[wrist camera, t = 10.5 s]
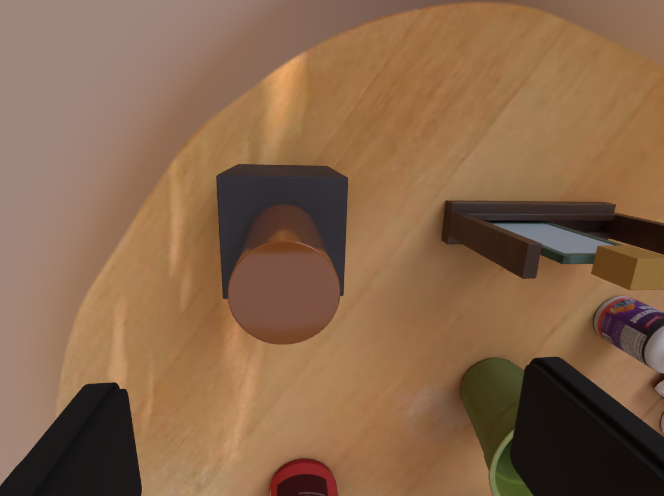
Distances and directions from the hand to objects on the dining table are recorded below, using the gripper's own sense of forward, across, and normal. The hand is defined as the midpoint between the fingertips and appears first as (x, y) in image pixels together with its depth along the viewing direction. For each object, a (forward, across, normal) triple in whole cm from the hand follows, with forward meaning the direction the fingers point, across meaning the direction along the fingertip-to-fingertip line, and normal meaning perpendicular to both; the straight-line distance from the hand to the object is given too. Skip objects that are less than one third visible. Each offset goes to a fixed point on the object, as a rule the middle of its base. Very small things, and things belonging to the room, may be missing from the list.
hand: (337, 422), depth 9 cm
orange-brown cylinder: (+16, +1, 0) cm, 16 cm away
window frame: (+27, -23, +1) cm, 36 cm away
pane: (+25, -21, +1) cm, 33 cm away
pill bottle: (+27, -36, +12) cm, 47 cm away
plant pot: (+28, -22, +20) cm, 40 cm away
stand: (+27, +1, 0) cm, 27 cm away
